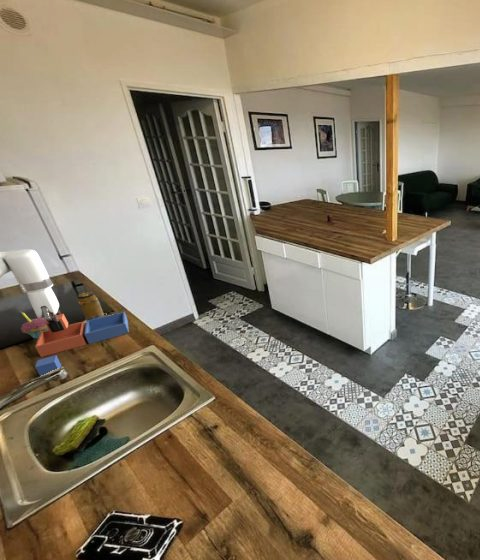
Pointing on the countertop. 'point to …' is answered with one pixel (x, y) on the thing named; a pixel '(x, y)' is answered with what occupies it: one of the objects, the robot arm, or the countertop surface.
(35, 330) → the cupcake
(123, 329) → the blue bin
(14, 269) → the robot arm
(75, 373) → the countertop surface
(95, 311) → the condiment
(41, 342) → the terracotta bin
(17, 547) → the countertop surface
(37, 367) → the blue block
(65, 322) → the terracotta block
